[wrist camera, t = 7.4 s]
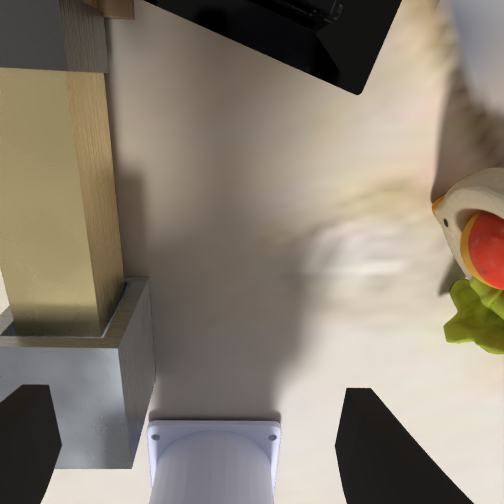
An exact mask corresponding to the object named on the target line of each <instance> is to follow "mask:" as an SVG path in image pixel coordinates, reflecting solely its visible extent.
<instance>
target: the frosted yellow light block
mask: <svg viewBox="0 0 504 504" xmlns="http://www.w3.org/2000/svg"><path fill="white" fill-rule="evenodd" d="M104 73H109V68H108V57H107V46H106V36H105V25H104V14H103V12H102V11H100V10H99V9H97V0H0V268H1V272H2V276H3V280H4V284H5V288H6V292H7V296H8V300H9V304H10V308H11V312H12V316H13V320H14V324H15V328H16V332H17V336H61V337H101V336H102V334H103V333H104V331H105V329H106V327H107V325H108V323H109V321H110V319H111V317H112V315H113V313H114V311H115V310H116V308H117V306H118V304H119V302H120V300H121V298H122V296H123V294H124V292H125V284H124V274H123V263H122V253H121V243H120V233H119V223H118V213H117V202H116V192H115V182H114V172H113V162H112V152H111V142H110V131H109V121H108V111H107V101H106V91H105V81H104Z"/></svg>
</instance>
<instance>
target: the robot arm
mask: <svg viewBox="0 0 504 504" xmlns="http://www.w3.org/2000/svg"><path fill="white" fill-rule="evenodd" d="M155 434H158V435H155ZM147 438H148V449H149V461H150V472H151V484H152V491H151V496H150V501H149V504H274V490H275V482H276V473H277V465H278V456H279V448H280V439H281V425H280V423H278V422H276V421H197V420H154V421H151V422H150V423H149V424H148V428H147ZM61 447H62V442H61V437H60V433H59V428H58V424H57V419H56V414H55V410H54V405H53V401H52V396H51V392H50V387H49V385H42V384H22V385H21V386H20V387H19V388H17V389H16V390H15V391H14V392H12V393H11V394H10V395H9V396H7V397H6V398H5V399H4V400H3V401H1V402H0V504H40V503H41V501H42V499H43V497H44V495H45V492H46V490H47V487H48V485H49V482H50V479H51V476H52V474H53V471H54V468H55V465H56V462H57V459H58V456H59V453H60V450H61ZM335 449H336V455H337V461H338V466H339V472H340V477H341V482H342V487H343V491H344V495H345V498H346V502H347V504H474V503H473V502H472V501H471V500H470V499H469V498H468V497H467V496H466V495H465V494H464V493H463V492H462V491H461V490H460V489H459V488H458V487H457V486H456V485H455V484H454V483H453V481H452V480H451V479H450V478H449V477H448V476H447V475H446V474H445V473H444V472H443V471H442V470H441V468H440V467H439V466H438V465H437V464H436V463H435V462H434V461H433V460H432V459H431V457H430V456H429V455H428V454H427V453H426V452H425V451H424V450H423V449H422V447H421V446H420V445H419V444H418V443H417V442H416V441H415V439H414V438H413V437H412V436H411V435H410V434H409V433H408V431H407V430H406V429H405V428H404V427H403V426H402V424H401V423H400V422H399V421H398V420H397V418H396V417H395V416H394V415H393V414H392V413H391V411H390V410H389V409H388V408H387V407H386V405H385V404H384V403H383V402H382V401H381V399H380V398H379V397H378V396H377V395H376V394H375V392H374V391H373V390H372V389H371V388H346V393H345V398H344V403H343V408H342V413H341V418H340V423H339V428H338V433H337V438H336V443H335Z"/></svg>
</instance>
